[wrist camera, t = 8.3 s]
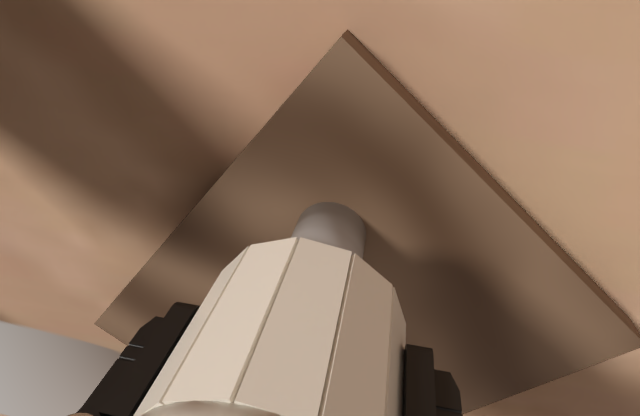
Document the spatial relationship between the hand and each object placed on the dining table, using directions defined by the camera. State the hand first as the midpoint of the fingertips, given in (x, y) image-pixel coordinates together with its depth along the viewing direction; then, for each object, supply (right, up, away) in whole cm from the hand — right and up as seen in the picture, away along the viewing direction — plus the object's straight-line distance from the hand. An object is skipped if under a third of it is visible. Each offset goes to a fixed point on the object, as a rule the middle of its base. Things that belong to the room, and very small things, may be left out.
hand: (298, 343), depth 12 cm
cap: (0, +1, +1) cm, 1 cm away
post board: (+1, -2, +10) cm, 10 cm away
